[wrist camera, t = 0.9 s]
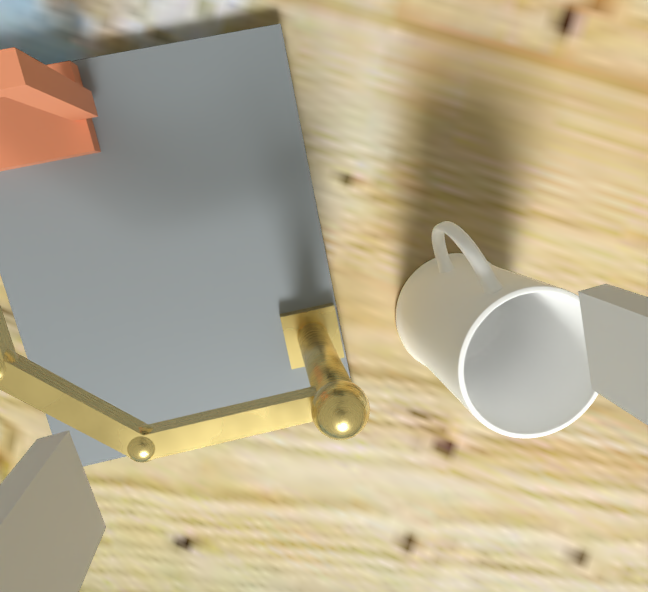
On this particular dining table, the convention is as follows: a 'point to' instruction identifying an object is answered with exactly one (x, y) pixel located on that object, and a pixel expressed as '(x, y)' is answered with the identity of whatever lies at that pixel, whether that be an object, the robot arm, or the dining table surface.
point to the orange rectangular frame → (43, 112)
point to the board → (170, 234)
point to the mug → (497, 339)
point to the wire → (213, 425)
